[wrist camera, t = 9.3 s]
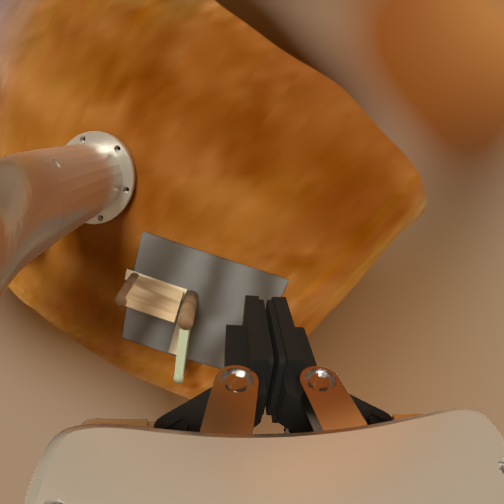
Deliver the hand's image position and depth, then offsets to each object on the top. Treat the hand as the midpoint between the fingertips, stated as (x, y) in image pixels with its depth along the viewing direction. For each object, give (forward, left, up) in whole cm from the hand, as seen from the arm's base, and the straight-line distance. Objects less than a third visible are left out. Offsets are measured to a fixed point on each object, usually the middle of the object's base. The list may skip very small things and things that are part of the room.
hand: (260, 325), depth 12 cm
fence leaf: (-1, -22, -26) cm, 34 cm away
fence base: (-1, -18, -27) cm, 32 cm away
